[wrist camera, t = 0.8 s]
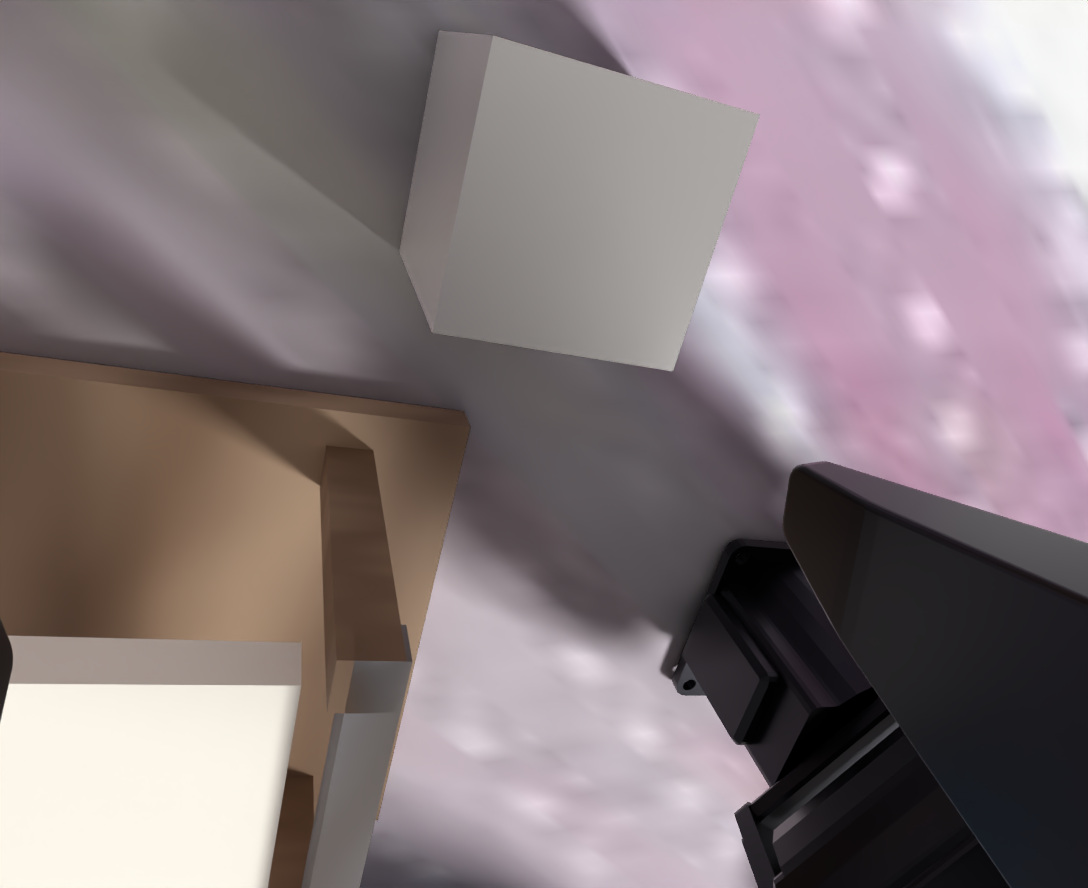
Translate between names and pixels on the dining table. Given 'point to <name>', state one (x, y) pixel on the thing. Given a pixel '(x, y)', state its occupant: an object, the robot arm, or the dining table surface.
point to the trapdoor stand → (238, 552)
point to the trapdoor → (144, 761)
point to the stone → (565, 202)
